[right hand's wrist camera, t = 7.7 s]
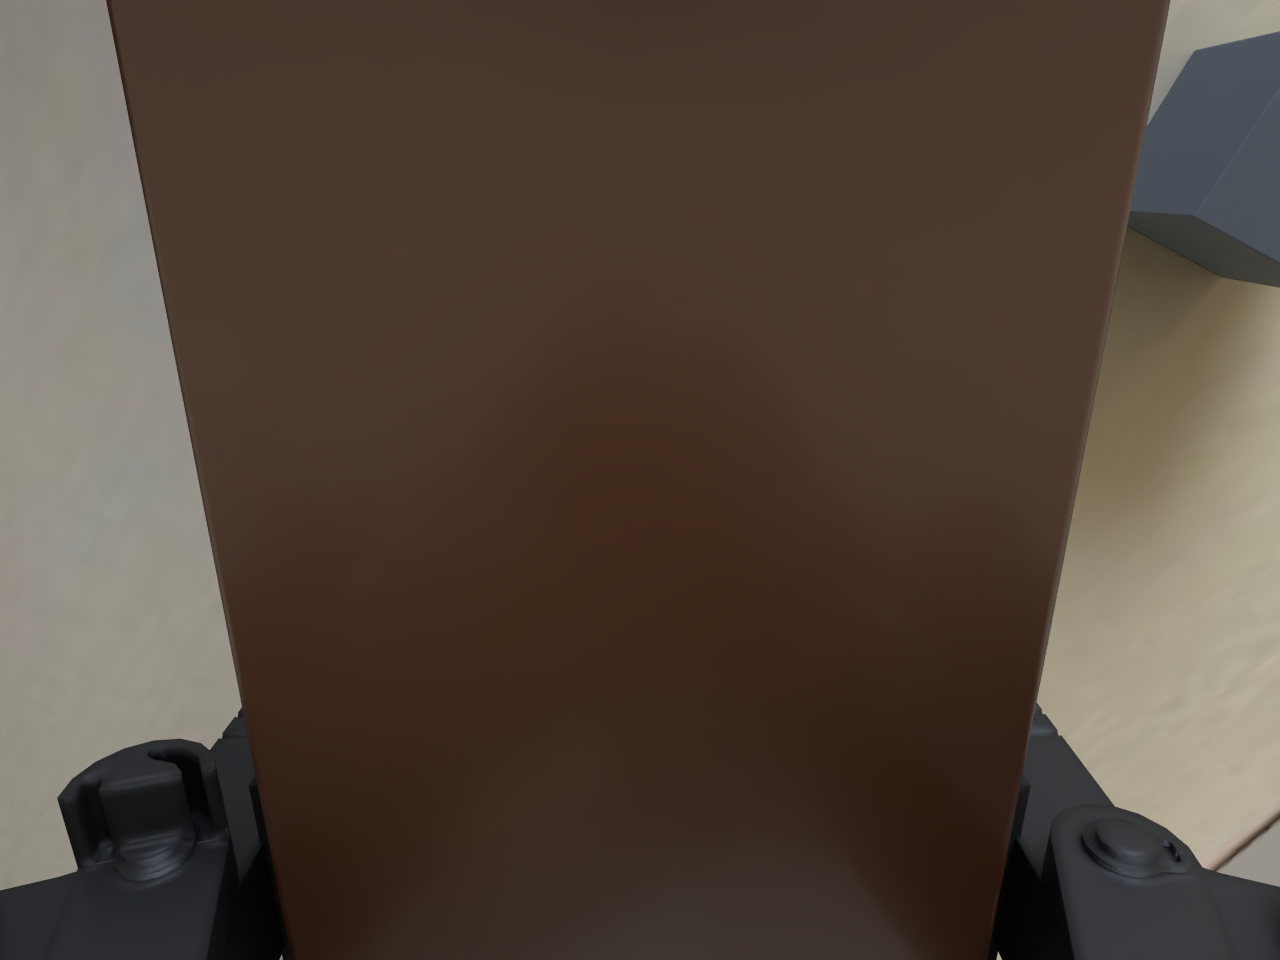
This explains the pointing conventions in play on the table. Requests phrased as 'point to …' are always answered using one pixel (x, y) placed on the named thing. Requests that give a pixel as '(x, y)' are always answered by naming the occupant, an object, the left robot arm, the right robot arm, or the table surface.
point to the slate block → (1217, 163)
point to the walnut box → (638, 446)
